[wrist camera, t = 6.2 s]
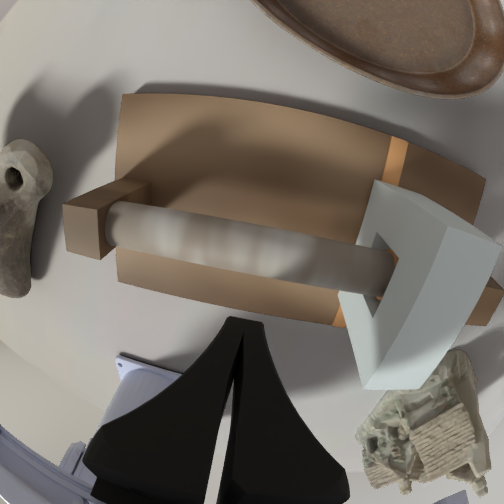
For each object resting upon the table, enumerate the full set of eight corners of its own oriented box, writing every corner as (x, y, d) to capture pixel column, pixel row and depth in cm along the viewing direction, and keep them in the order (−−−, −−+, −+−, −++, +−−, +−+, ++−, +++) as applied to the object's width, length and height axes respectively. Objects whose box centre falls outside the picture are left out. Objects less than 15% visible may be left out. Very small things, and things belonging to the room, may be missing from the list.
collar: (380, 302, 16) (418, 389, 9) (337, 295, 16) (362, 389, 9) (421, 194, 13) (502, 246, 6) (374, 179, 13) (447, 225, 6)
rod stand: (416, 326, 18) (446, 387, 12) (124, 274, 18) (76, 329, 12) (477, 175, 13) (542, 204, 7) (131, 95, 13) (59, 88, 7)
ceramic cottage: (474, 331, 18) (529, 470, 5) (469, 400, 23) (492, 491, 10) (325, 396, 23) (324, 542, 10) (366, 442, 29) (370, 533, 16)
